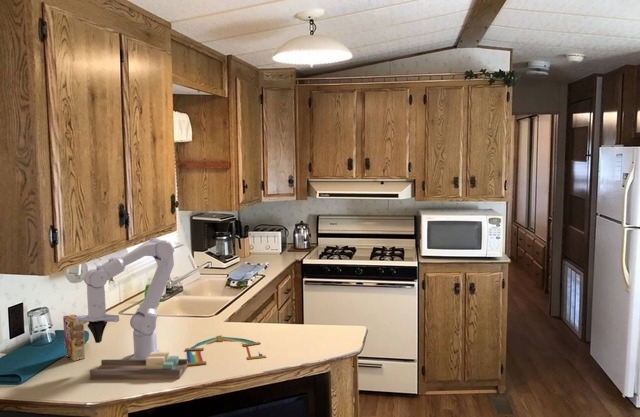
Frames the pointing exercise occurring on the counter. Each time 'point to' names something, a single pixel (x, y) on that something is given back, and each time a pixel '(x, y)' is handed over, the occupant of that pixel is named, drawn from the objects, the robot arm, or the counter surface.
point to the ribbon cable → (197, 359)
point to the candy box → (74, 337)
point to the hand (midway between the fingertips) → (98, 341)
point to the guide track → (139, 369)
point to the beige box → (156, 360)
